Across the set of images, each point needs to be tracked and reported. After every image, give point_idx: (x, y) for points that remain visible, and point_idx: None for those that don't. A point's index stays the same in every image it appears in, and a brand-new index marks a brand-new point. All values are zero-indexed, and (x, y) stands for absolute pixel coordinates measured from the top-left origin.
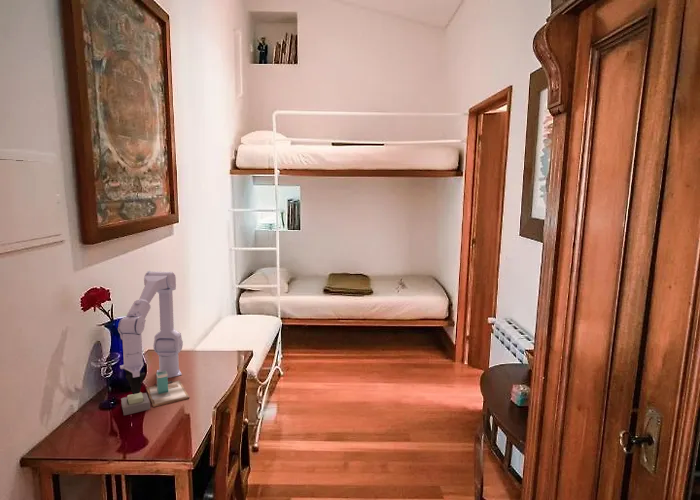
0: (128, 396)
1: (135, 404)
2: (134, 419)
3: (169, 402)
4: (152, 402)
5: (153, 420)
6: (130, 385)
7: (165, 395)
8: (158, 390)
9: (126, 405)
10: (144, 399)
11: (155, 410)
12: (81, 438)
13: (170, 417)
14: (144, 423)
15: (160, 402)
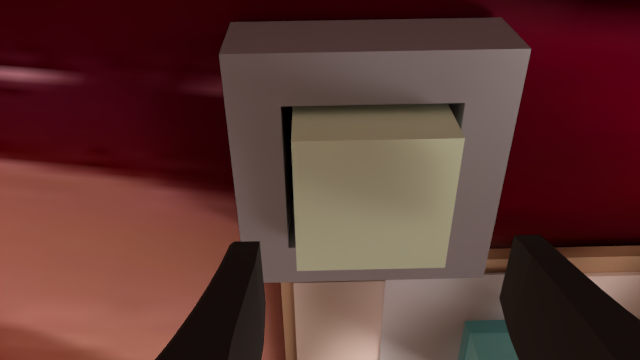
0: (416, 147)
1: (256, 173)
2: (113, 104)
3: (286, 350)
4: None
5: (39, 230)
6: (163, 353)
7: (401, 353)
8: (482, 345)
9: (278, 90)
10: None
11: (219, 258)
12: None
13: (52, 323)
14: (2, 169)
15: (295, 314)
